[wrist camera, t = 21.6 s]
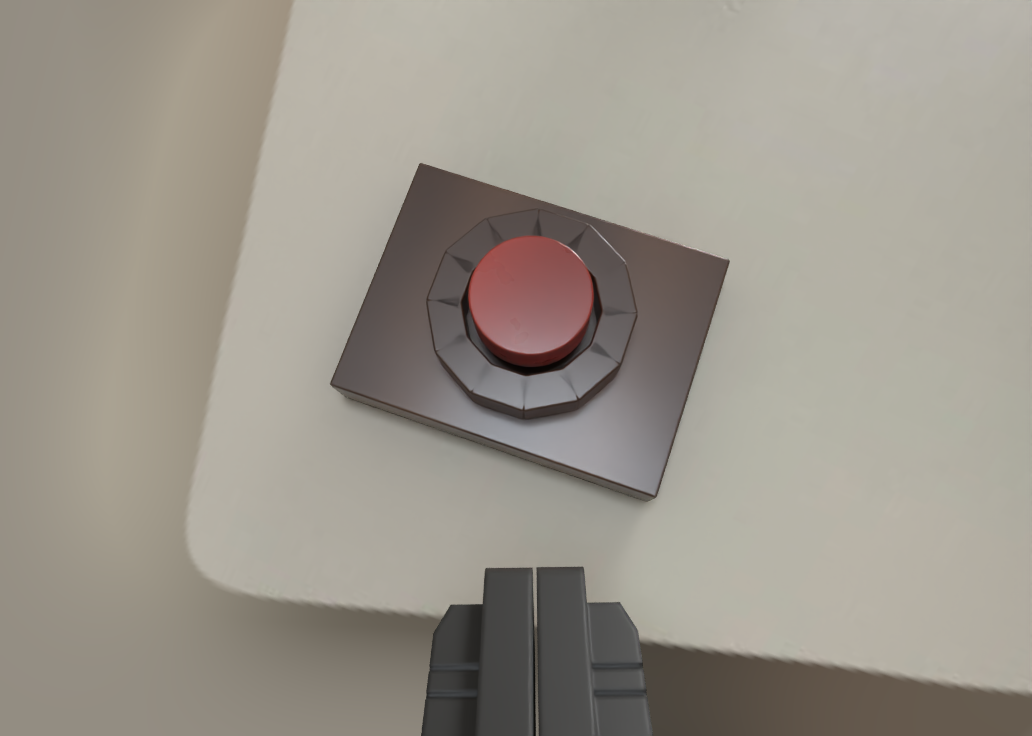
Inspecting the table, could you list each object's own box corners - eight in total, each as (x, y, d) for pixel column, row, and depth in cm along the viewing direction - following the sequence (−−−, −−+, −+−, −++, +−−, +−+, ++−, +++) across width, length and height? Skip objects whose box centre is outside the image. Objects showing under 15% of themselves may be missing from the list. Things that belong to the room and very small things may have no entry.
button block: (343, 396, 31) (314, 374, 27) (427, 187, 32) (412, 137, 29) (648, 502, 29) (664, 494, 26) (717, 278, 31) (743, 240, 27)
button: (455, 345, 27) (449, 331, 26) (495, 239, 28) (492, 219, 26) (568, 383, 27) (570, 372, 25) (606, 275, 28) (610, 256, 26)
